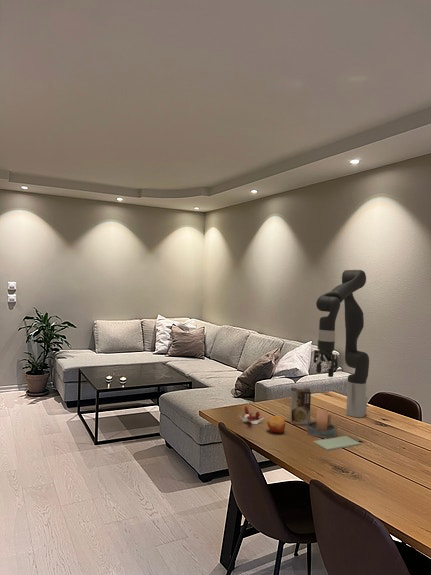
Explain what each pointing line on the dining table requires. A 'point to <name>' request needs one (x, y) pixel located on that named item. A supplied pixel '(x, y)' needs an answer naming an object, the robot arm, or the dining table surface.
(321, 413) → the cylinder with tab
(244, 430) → the dining table surface
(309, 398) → the coffee box
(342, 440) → the mat
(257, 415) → the figurine
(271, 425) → the fruit
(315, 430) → the holder
